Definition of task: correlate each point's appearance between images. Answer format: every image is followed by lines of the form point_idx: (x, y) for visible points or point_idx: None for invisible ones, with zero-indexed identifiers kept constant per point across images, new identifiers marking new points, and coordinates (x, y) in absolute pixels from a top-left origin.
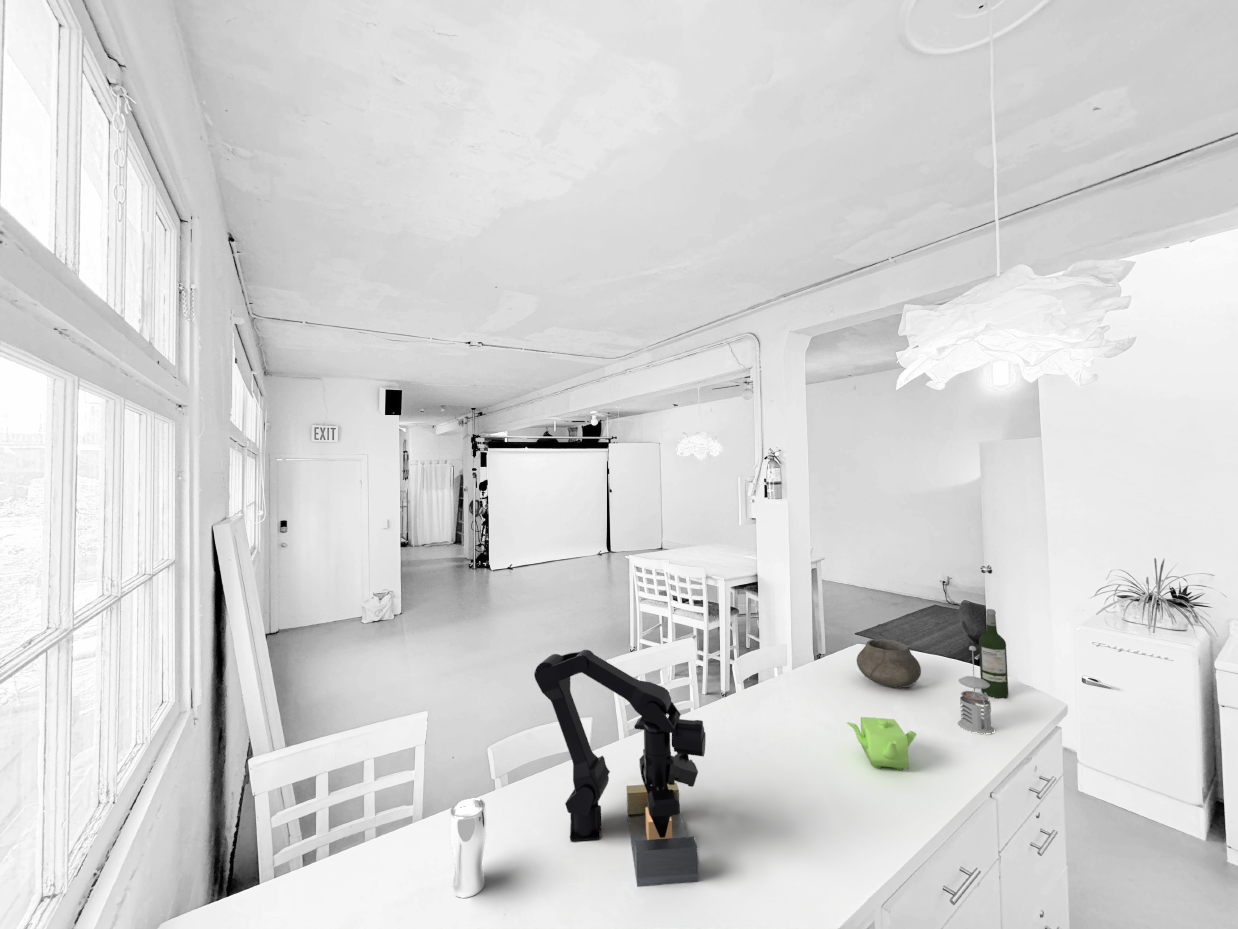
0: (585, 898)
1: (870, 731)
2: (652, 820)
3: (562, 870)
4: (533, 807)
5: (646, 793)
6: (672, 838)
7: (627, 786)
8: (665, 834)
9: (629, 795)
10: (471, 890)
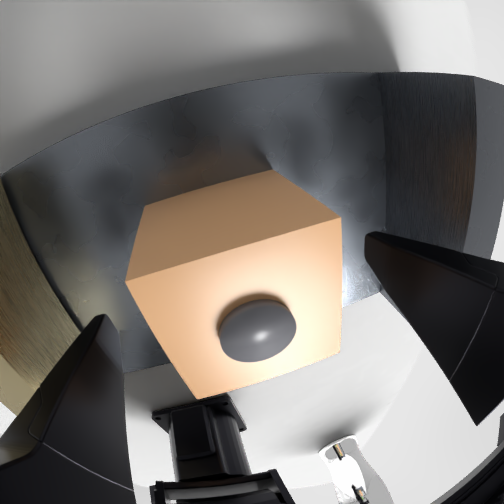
0: (399, 344)
1: None
2: (326, 340)
3: (327, 401)
4: (159, 470)
5: None
6: (474, 204)
7: None
8: (391, 236)
9: None
10: (356, 440)
